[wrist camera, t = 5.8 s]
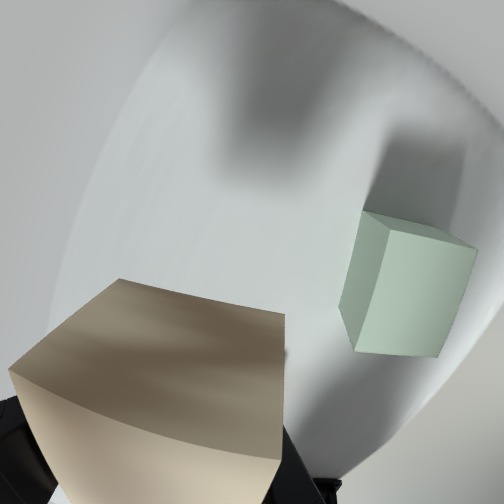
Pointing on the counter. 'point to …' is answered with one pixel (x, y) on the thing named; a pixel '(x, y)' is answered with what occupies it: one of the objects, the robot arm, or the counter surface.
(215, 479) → the beech brick
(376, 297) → the sage green brick
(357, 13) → the counter surface
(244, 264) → the counter surface
